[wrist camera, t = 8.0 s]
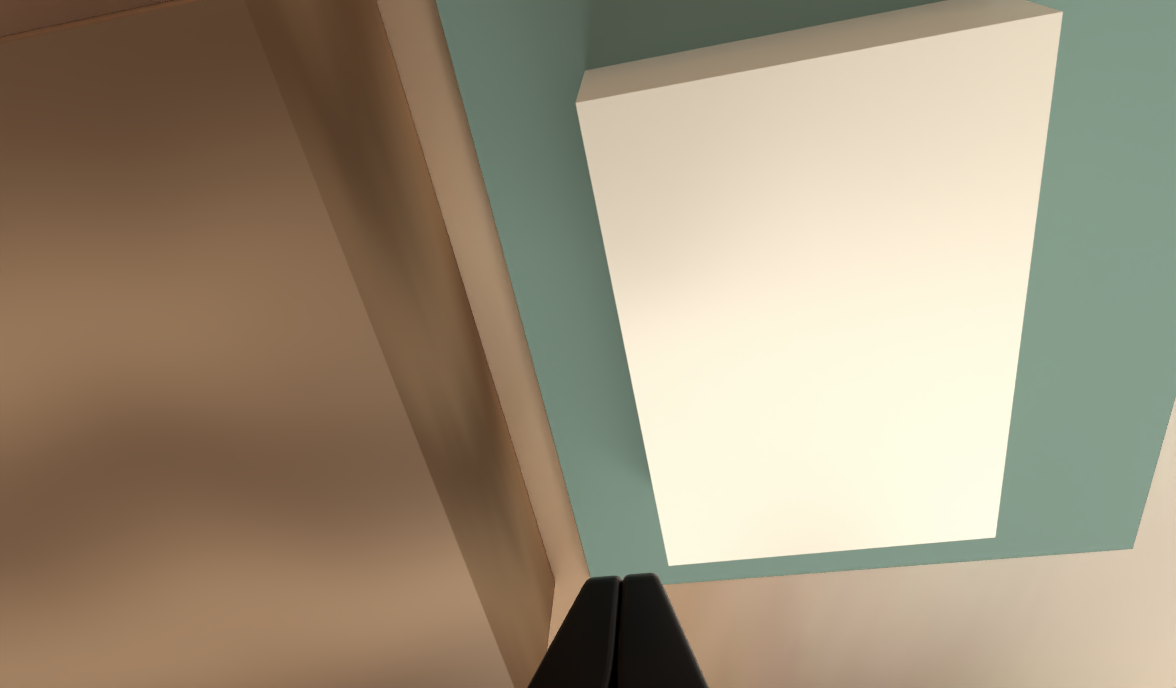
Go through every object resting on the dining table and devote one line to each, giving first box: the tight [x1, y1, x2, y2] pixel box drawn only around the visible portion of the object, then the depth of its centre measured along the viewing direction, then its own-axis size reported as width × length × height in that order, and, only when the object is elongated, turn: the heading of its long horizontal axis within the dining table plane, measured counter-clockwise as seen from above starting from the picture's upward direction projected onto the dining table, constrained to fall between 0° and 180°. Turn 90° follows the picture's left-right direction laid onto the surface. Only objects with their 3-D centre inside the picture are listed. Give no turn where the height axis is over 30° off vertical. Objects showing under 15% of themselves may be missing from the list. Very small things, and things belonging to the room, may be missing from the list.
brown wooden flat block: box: [0, 0, 555, 688], centre depth 14 cm, size 14×18×4 cm
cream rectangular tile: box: [576, 0, 1063, 566], centre depth 12 cm, size 9×6×2 cm, turn 11°
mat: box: [435, 0, 1176, 585], centre depth 13 cm, size 14×12×1 cm
